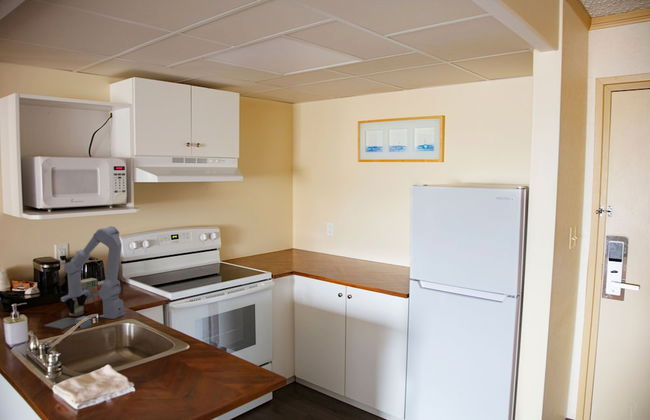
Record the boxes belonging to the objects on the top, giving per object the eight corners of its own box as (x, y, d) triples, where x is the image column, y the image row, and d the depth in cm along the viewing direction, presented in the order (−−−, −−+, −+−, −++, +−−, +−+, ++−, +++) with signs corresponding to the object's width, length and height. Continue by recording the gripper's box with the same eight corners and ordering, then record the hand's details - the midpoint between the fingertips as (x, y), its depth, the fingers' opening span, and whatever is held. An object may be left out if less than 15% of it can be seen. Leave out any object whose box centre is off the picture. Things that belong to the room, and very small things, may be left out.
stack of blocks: (109, 295, 266) (108, 274, 264) (114, 297, 262) (113, 276, 261) (70, 304, 249) (69, 282, 247) (76, 306, 245) (74, 284, 244)
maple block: (83, 313, 233) (83, 305, 233) (75, 316, 229) (75, 308, 228) (77, 312, 235) (76, 304, 234) (69, 315, 231) (68, 307, 230)
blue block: (91, 325, 216) (90, 317, 216) (83, 328, 212) (82, 320, 212) (84, 324, 218) (83, 316, 217) (75, 327, 214) (75, 319, 213)
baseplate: (85, 321, 221) (85, 320, 221) (62, 329, 210) (62, 328, 210) (67, 318, 226) (67, 317, 226) (44, 326, 215) (44, 325, 215)
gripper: (81, 280, 239) (83, 306, 240) (55, 288, 225) (57, 315, 227) (91, 282, 236) (93, 308, 237) (66, 289, 222) (67, 316, 224)
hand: (76, 311), depth 232 cm, fingers closed on maple block, 4 cm apart
